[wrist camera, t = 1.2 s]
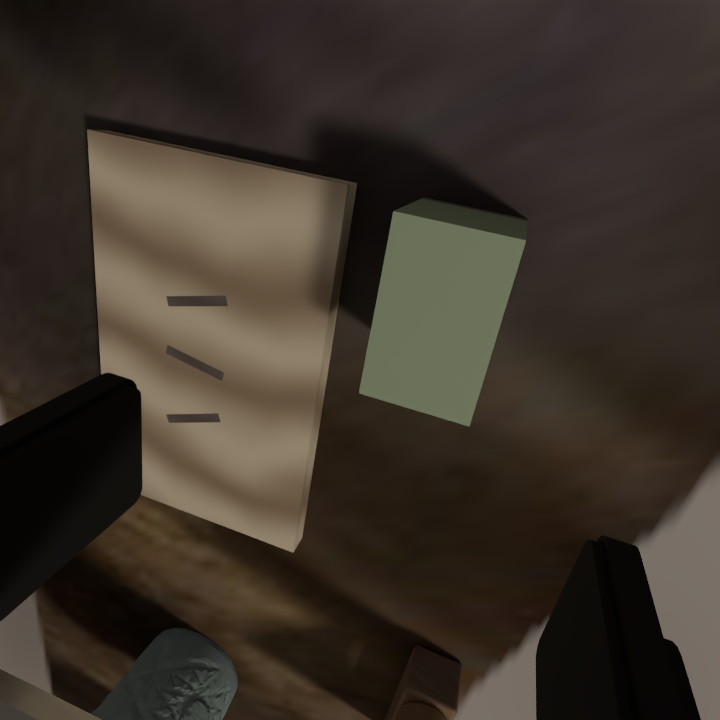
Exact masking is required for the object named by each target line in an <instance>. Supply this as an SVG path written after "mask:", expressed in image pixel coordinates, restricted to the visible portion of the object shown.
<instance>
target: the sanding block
mask: <svg viewBox="0 0 720 720" xmlns="http://www.w3.org/2000/svg"><path fill="white" fill-rule="evenodd" d="M526 234H527V219H525V218H520V217H516V216H511V215H506V214H501V213H497V212H492V211H487V210H482V209H478V208H473V207H468V206H464V205H459V204H454V203H449V202H445V201H440V200H435V199H430V198H426V197H424V198H422V199H420V200H417V201H415V202H413V203H411V204H408V205H406V206H404V207H402V208H399V209H397V210H395V211H393V216H392V221H391V226H390V232H389V237H388V242H387V247H386V253H385V258H384V263H383V269H382V274H381V279H380V285H379V290H378V295H377V300H376V306H375V311H374V316H373V322H372V327H371V332H370V338H369V343H368V348H367V353H366V359H365V364H364V369H363V375H362V380H361V385H360V390H359V393H360V394H363V395H367V396H370V397H373V398H376V399H380V400H383V401H386V402H390V403H393V404H396V405H400V406H403V407H406V408H410V409H413V410H416V411H420V412H423V413H426V414H430V415H433V416H436V417H439V418H443V419H446V420H449V421H453V422H456V423H459V424H463V425H466V426H470V423H471V420H472V416H473V413H474V410H475V407H476V403H477V400H478V397H479V393H480V390H481V387H482V384H483V380H484V377H485V374H486V370H487V367H488V364H489V361H490V357H491V354H492V351H493V347H494V344H495V341H496V338H497V334H498V331H499V328H500V325H501V321H502V318H503V315H504V311H505V308H506V305H507V302H508V298H509V295H510V292H511V288H512V285H513V282H514V279H515V275H516V272H517V269H518V265H519V262H520V259H521V256H522V252H523V249H524V246H525V242H526Z"/></svg>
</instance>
